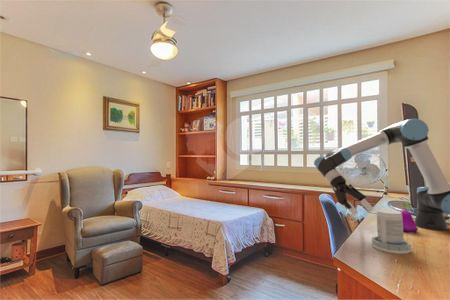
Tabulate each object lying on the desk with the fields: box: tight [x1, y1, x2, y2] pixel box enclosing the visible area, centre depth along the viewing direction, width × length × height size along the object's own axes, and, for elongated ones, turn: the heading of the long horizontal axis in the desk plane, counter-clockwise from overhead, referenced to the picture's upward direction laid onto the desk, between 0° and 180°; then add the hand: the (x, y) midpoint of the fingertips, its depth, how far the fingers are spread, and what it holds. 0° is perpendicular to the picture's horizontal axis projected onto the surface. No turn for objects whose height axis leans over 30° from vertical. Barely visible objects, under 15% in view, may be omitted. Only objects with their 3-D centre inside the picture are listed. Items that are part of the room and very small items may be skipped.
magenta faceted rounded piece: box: [399, 202, 419, 233], centre depth 137 cm, size 11×11×15 cm
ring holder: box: [371, 235, 412, 255], centre depth 109 cm, size 14×14×3 cm
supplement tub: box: [376, 209, 405, 246], centre depth 109 cm, size 10×10×15 cm
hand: (364, 212), depth 121 cm, fingers open, 13 cm apart
